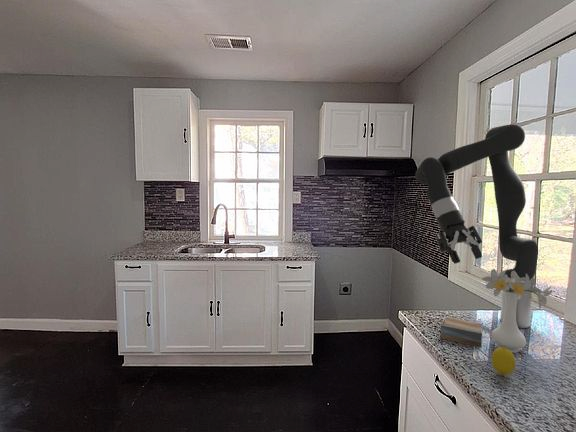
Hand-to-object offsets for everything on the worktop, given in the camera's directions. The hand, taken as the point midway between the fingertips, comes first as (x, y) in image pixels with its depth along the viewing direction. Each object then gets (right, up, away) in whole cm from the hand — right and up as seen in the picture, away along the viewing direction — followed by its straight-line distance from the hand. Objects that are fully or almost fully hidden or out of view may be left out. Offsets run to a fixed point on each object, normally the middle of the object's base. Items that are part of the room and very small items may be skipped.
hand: (468, 260), depth 104 cm
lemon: (+2, -30, -13) cm, 33 cm away
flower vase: (+15, -29, +3) cm, 33 cm away
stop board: (+6, -28, +14) cm, 32 cm away
